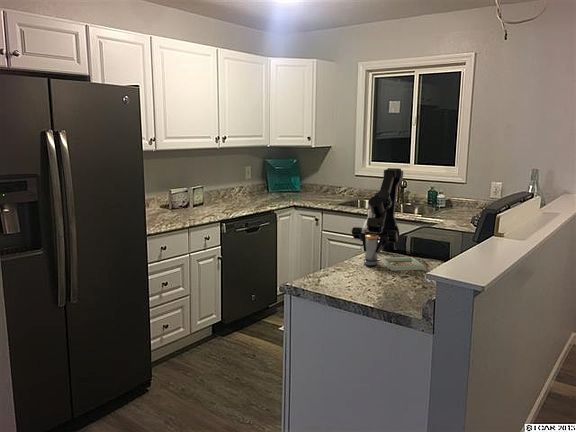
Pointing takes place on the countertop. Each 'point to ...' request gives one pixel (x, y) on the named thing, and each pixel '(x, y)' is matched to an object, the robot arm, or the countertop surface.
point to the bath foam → (366, 221)
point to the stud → (371, 266)
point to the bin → (392, 268)
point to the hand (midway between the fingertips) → (370, 251)
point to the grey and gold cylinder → (371, 250)
